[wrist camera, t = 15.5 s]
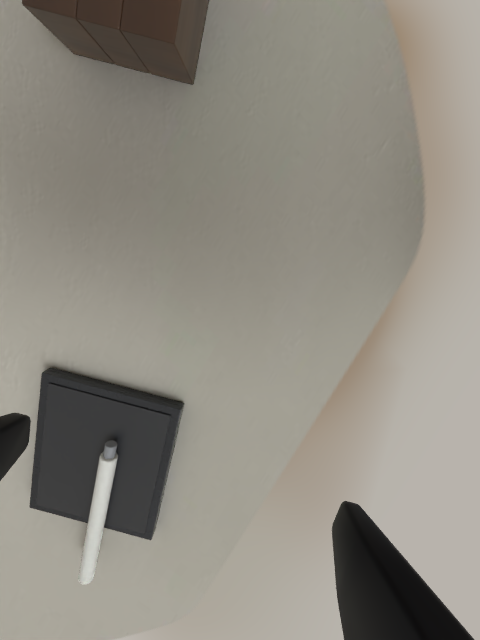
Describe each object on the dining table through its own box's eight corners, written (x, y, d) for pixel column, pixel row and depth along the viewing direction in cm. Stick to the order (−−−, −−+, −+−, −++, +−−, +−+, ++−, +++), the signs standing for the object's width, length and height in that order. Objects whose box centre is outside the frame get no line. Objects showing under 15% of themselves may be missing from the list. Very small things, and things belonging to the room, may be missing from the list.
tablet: (184, 402, 23) (180, 410, 22) (155, 529, 26) (150, 541, 25) (50, 366, 23) (40, 373, 22) (37, 497, 26) (28, 508, 25)
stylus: (112, 452, 22) (87, 587, 25) (123, 442, 23) (97, 573, 26) (98, 445, 22) (74, 580, 25) (109, 435, 23) (85, 566, 26)
